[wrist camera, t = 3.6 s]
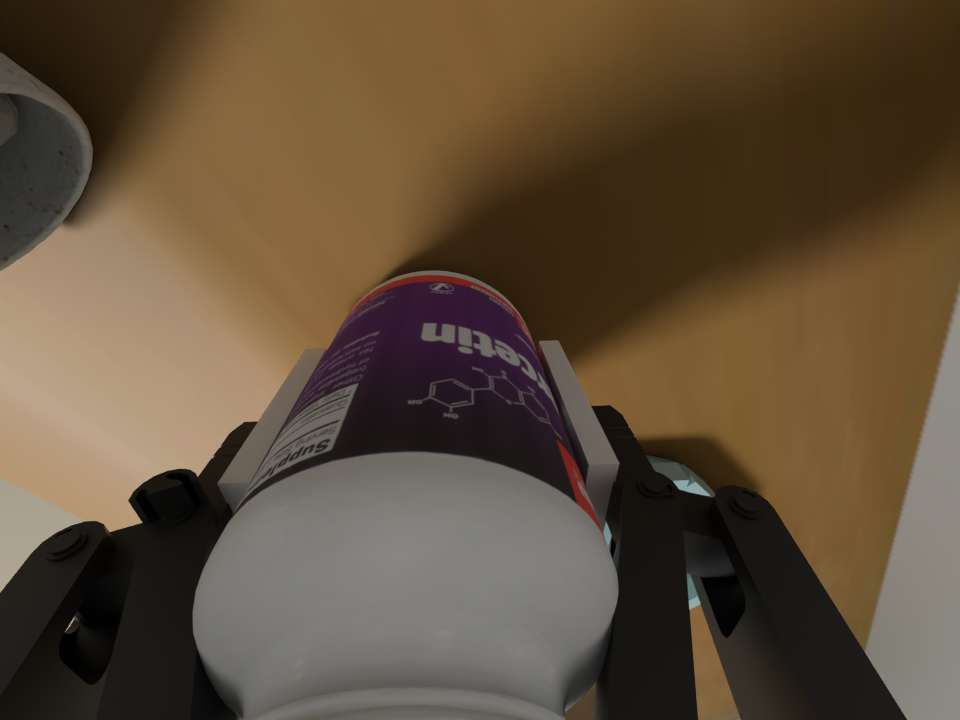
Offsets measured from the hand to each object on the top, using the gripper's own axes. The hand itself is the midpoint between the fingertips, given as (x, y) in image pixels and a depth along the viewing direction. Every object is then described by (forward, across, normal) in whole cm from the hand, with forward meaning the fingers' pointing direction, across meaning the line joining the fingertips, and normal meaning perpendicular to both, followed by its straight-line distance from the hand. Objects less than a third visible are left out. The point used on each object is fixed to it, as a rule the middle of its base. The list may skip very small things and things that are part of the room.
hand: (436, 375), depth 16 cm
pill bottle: (+2, 0, 0) cm, 2 cm away
